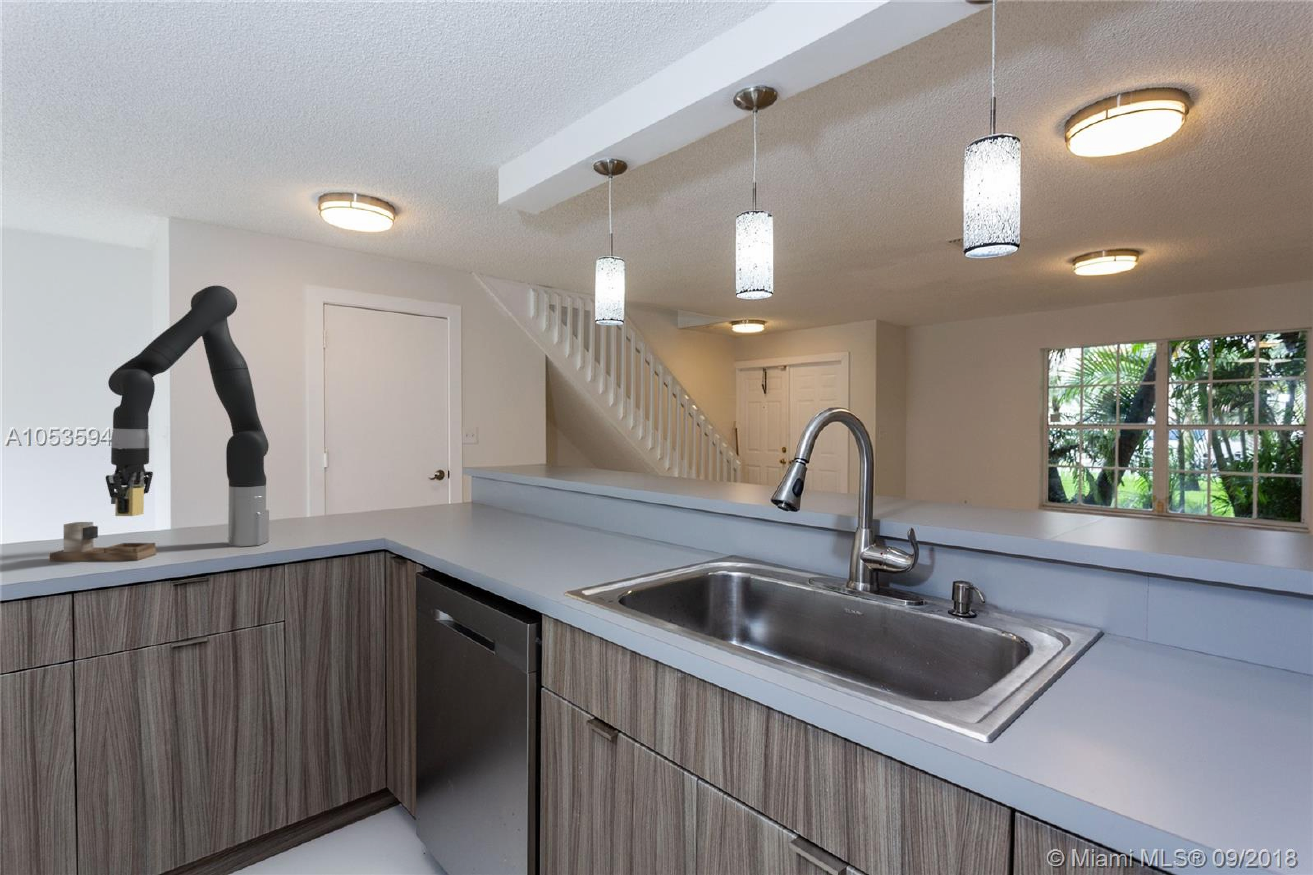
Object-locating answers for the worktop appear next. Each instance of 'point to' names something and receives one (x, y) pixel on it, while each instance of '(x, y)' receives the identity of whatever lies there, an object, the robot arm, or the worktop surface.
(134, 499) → the yellow and grey box
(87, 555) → the rail
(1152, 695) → the worktop surface
